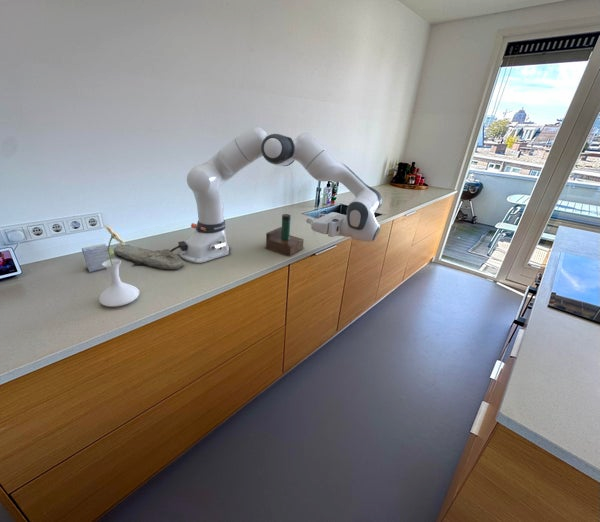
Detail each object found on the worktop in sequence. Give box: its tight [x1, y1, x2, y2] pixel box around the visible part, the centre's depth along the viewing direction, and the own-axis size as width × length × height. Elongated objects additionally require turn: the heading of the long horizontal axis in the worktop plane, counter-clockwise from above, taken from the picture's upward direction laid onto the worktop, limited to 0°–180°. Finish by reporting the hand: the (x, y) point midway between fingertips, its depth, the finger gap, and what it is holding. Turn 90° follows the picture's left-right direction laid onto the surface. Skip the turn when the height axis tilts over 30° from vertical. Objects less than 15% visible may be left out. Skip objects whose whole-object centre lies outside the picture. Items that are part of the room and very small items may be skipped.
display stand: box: [265, 226, 304, 257], centre depth 140 cm, size 12×14×8 cm
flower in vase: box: [98, 224, 140, 308], centre depth 90 cm, size 13×11×25 cm
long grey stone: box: [113, 244, 184, 270], centre depth 120 cm, size 35×5×10 cm
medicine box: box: [81, 243, 110, 273], centre depth 111 cm, size 8×4×9 cm, turn 135°
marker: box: [281, 213, 292, 241], centre depth 137 cm, size 4×4×12 cm
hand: (312, 217), depth 128 cm, fingers open, 8 cm apart
